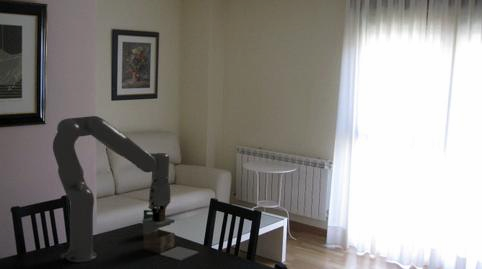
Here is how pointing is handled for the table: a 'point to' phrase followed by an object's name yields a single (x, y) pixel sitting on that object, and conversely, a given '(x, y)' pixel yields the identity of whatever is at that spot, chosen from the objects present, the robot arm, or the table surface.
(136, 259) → the table surface
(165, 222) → the lid
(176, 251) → the felt mat
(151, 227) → the ink box
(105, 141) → the robot arm
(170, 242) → the keepsake box
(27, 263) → the table surface
